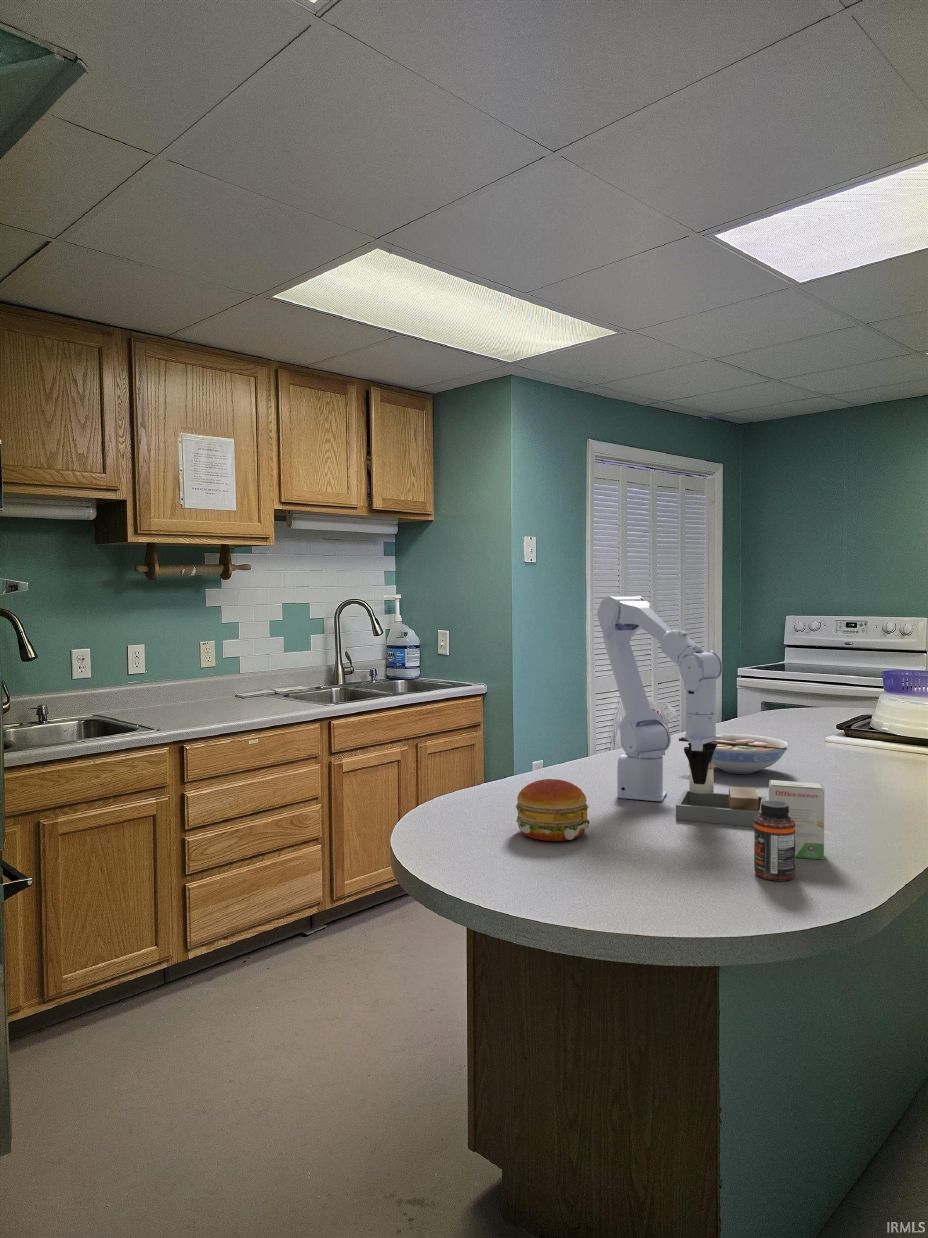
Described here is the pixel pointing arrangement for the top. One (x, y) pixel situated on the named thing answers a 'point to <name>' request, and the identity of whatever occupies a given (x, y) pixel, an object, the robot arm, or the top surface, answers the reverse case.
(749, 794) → the block
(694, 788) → the jar
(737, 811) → the tote
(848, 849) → the top surface
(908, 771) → the top surface
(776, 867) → the supplement bottle
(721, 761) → the ramen bowl
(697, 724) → the robot arm
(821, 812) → the ink box
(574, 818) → the burger
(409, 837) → the top surface
